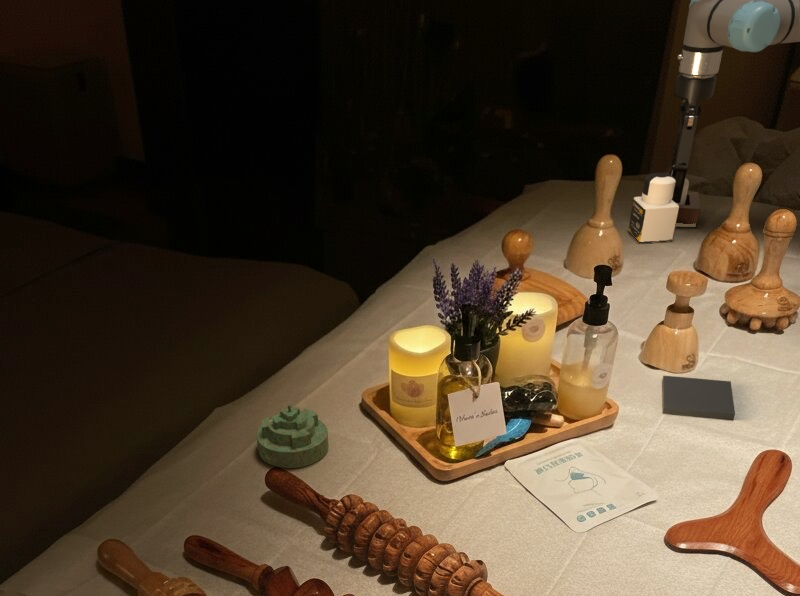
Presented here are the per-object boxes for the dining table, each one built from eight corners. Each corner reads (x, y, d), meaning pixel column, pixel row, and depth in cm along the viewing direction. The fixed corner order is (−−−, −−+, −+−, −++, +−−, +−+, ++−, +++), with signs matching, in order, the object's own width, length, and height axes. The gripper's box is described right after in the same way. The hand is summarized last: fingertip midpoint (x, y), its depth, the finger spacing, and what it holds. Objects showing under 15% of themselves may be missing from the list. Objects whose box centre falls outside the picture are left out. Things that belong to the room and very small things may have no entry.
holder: (694, 211, 193) (698, 192, 190) (696, 228, 185) (700, 208, 182) (642, 208, 195) (646, 189, 192) (642, 225, 187) (646, 206, 184)
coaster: (729, 387, 134) (730, 381, 133) (733, 420, 127) (735, 414, 126) (662, 381, 136) (663, 375, 135) (662, 413, 129) (663, 407, 128)
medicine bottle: (627, 231, 184) (637, 171, 176) (660, 229, 185) (671, 169, 177) (638, 243, 179) (649, 182, 171) (672, 241, 179) (685, 179, 171)
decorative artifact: (343, 447, 124) (297, 422, 130) (340, 403, 119) (293, 380, 125) (289, 476, 119) (244, 449, 124) (285, 432, 114) (238, 405, 120)
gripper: (676, 63, 179) (654, 180, 195) (678, 85, 165) (655, 211, 180) (714, 63, 178) (689, 182, 193) (720, 86, 163) (692, 213, 179)
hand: (673, 196), depth 187 cm, fingers open, 7 cm apart
